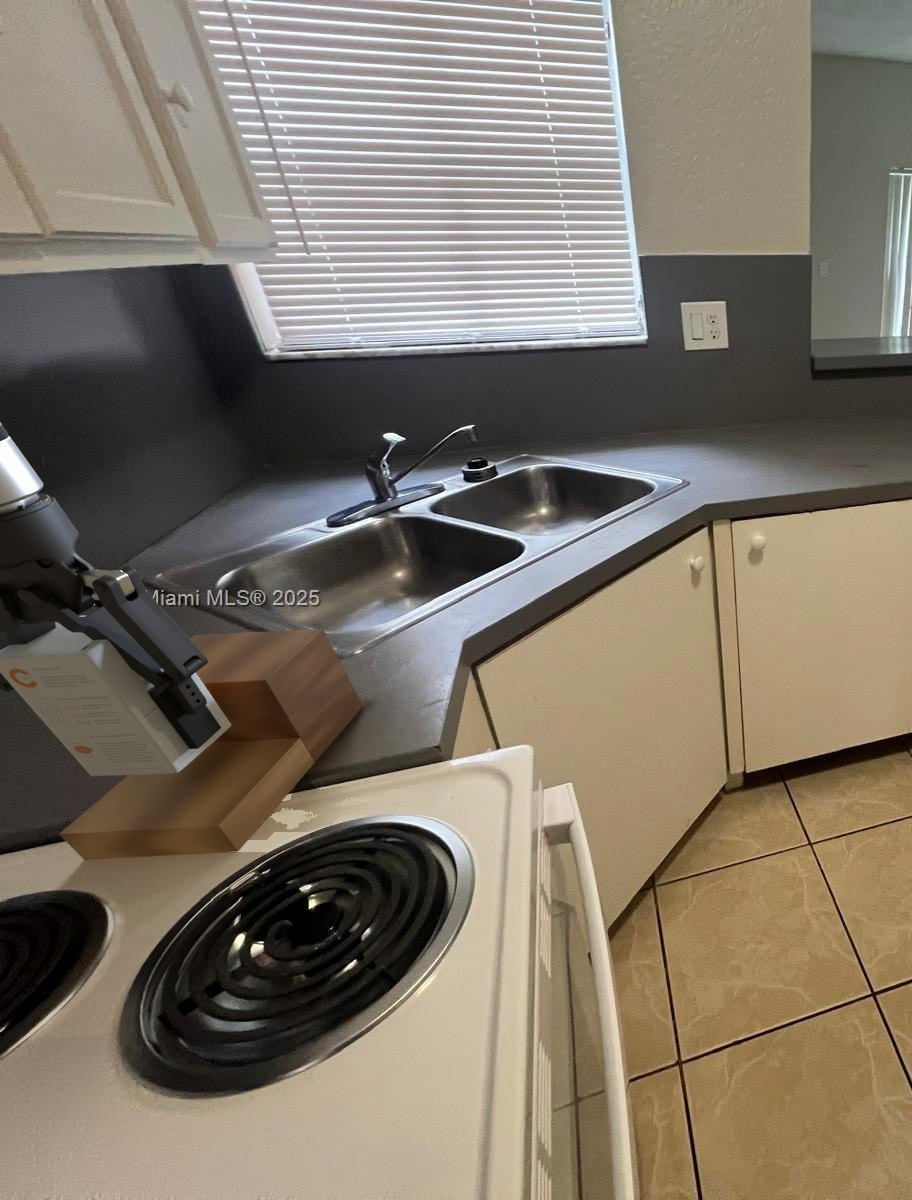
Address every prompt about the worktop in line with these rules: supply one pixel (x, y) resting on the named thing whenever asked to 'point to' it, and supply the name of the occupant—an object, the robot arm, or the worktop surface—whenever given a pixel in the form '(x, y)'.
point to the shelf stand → (231, 751)
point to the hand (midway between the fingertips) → (157, 740)
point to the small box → (99, 705)
